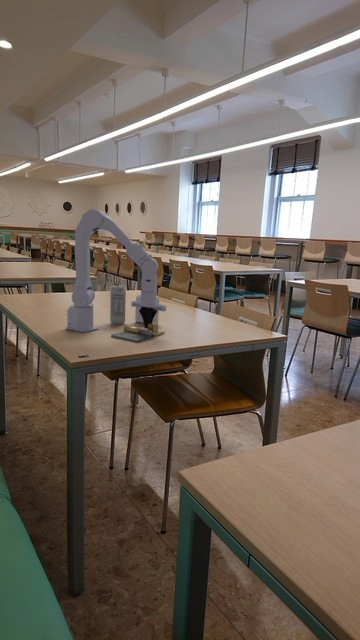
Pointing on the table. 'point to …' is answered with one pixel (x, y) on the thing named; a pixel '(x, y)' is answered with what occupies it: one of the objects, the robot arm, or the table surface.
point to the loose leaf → (151, 327)
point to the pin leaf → (135, 336)
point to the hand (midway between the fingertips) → (147, 327)
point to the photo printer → (138, 316)
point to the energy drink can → (117, 305)
